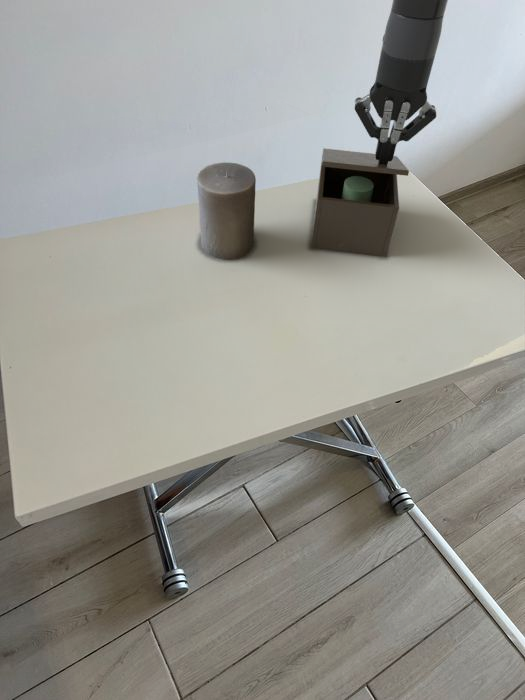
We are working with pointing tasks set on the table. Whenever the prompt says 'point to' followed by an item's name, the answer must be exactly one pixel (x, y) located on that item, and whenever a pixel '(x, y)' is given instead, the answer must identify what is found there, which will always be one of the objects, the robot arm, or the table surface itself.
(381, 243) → the brown hinged box
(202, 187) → the pillar candle
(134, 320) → the table surface
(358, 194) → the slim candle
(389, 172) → the brown box lid
